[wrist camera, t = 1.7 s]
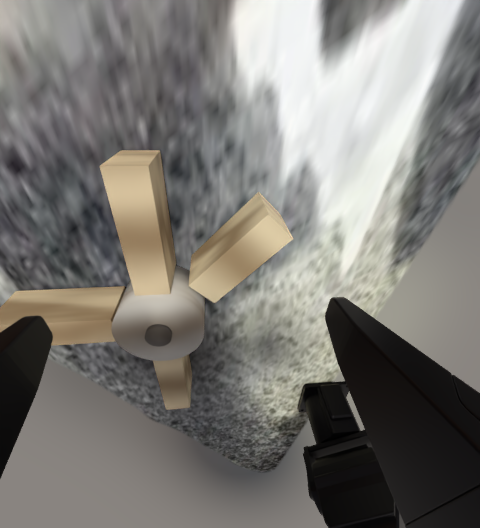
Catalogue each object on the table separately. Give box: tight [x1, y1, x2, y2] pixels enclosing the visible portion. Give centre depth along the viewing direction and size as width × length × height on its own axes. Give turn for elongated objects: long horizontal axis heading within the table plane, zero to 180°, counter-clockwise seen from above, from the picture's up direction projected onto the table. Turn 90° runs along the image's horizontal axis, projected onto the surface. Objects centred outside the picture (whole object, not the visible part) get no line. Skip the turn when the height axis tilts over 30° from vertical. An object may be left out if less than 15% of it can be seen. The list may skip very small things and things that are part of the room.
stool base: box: [0, 150, 205, 410], centre depth 22 cm, size 25×16×5 cm, turn 179°
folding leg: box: [188, 192, 293, 303], centre depth 19 cm, size 8×2×4 cm, turn 134°
